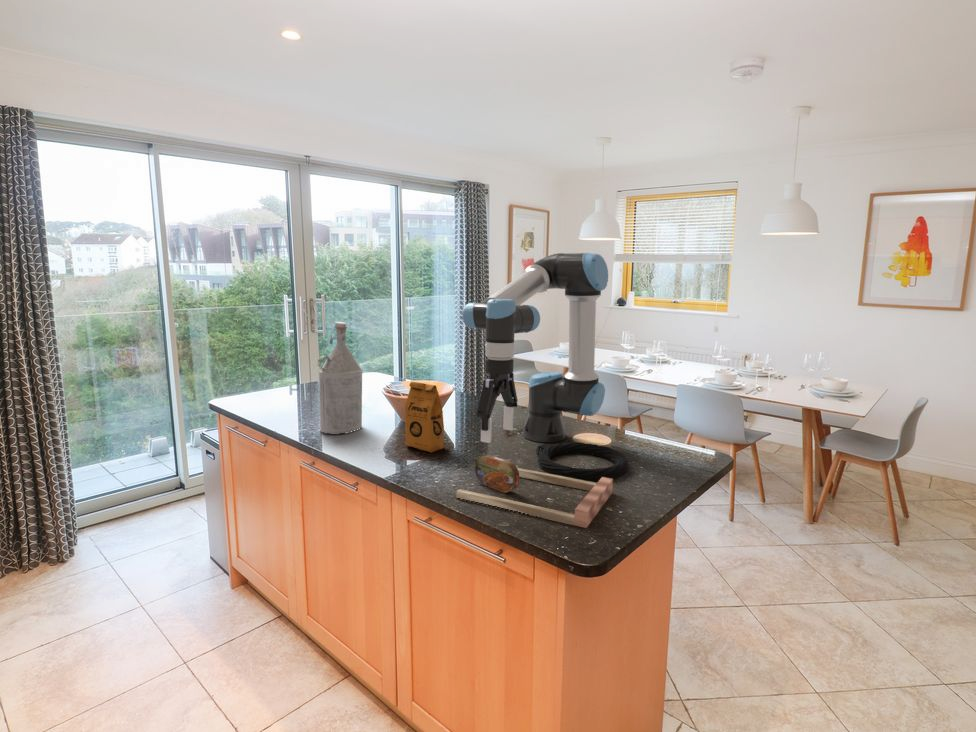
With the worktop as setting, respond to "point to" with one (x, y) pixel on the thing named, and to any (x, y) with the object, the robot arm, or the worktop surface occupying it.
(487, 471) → the tin
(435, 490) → the worktop surface
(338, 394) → the grey jug bottle
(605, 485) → the stop channel
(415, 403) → the coffee package
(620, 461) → the cable lock
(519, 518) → the worktop surface
